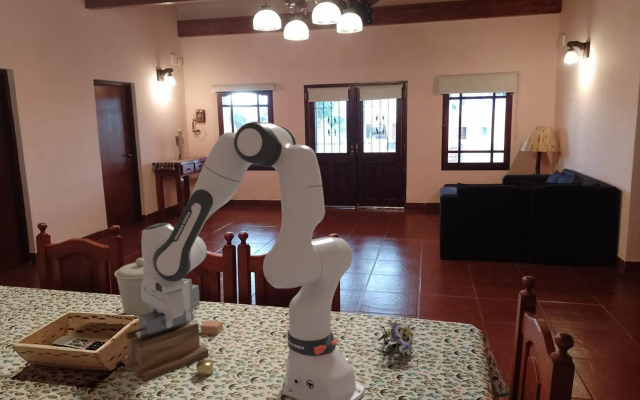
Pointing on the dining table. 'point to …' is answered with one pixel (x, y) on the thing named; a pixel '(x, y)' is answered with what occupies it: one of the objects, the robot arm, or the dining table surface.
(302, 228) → the robot arm
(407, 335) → the passion flower
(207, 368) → the brass knob
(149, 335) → the slider plate with knob
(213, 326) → the terracotta block
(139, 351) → the stand
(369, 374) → the dining table surface
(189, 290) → the circuit breaker
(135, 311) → the canister
